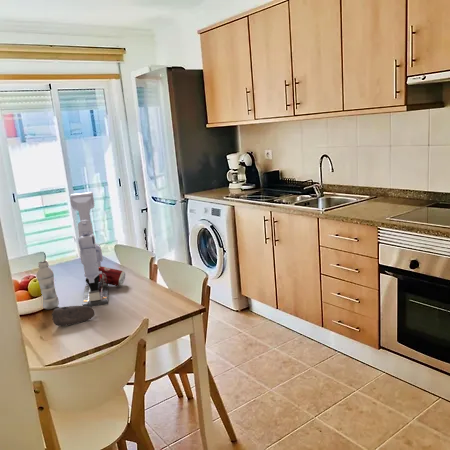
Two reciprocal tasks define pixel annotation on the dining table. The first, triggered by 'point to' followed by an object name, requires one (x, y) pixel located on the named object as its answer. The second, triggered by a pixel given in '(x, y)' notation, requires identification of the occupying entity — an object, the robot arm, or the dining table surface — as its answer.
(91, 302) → the fader panel
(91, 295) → the slider tab
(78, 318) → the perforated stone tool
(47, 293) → the plastic bottle
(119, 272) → the soda can
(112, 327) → the dining table surface
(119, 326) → the dining table surface
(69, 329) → the dining table surface
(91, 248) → the robot arm
